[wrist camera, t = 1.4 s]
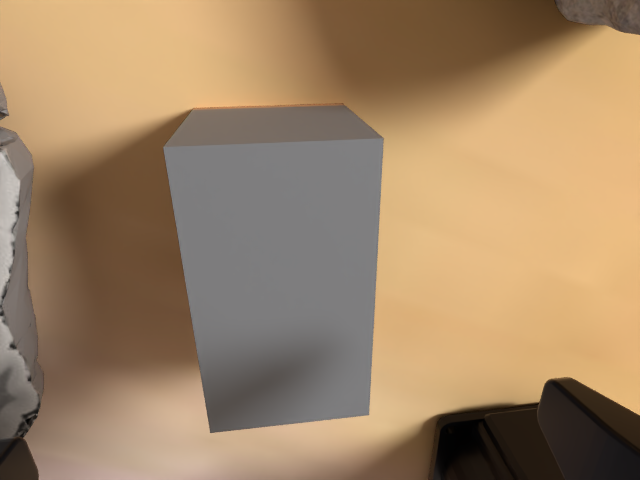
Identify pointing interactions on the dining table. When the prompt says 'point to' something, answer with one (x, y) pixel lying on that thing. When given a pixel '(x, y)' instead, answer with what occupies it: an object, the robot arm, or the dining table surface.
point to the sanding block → (279, 258)
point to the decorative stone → (603, 13)
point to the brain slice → (16, 290)
